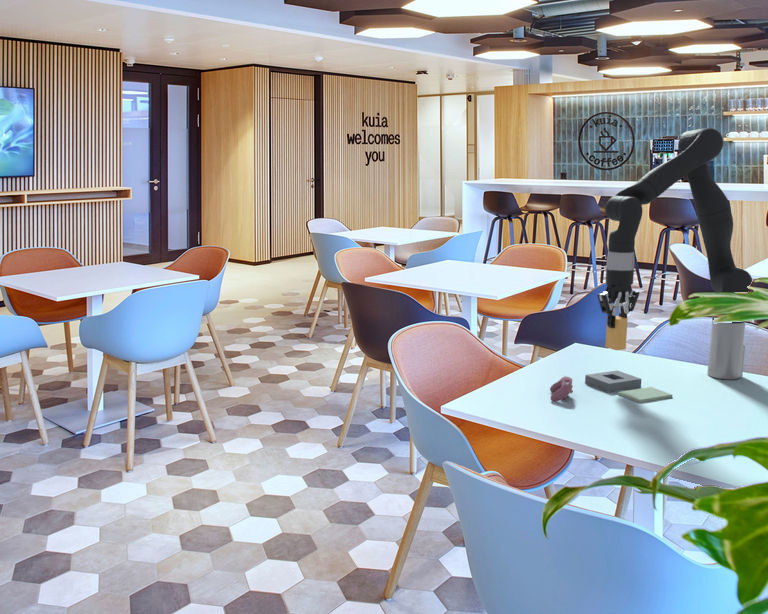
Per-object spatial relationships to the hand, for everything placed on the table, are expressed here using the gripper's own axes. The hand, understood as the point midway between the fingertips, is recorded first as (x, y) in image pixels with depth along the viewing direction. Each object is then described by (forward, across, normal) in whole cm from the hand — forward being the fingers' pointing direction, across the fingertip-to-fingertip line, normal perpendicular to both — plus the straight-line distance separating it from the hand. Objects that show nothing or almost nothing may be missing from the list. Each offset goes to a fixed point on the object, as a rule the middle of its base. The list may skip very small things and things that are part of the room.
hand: (616, 326), depth 225 cm
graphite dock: (+17, 0, 0) cm, 17 cm away
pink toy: (+18, +21, +3) cm, 28 cm away
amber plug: (+6, 0, 0) cm, 6 cm away
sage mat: (+17, -1, +12) cm, 21 cm away
